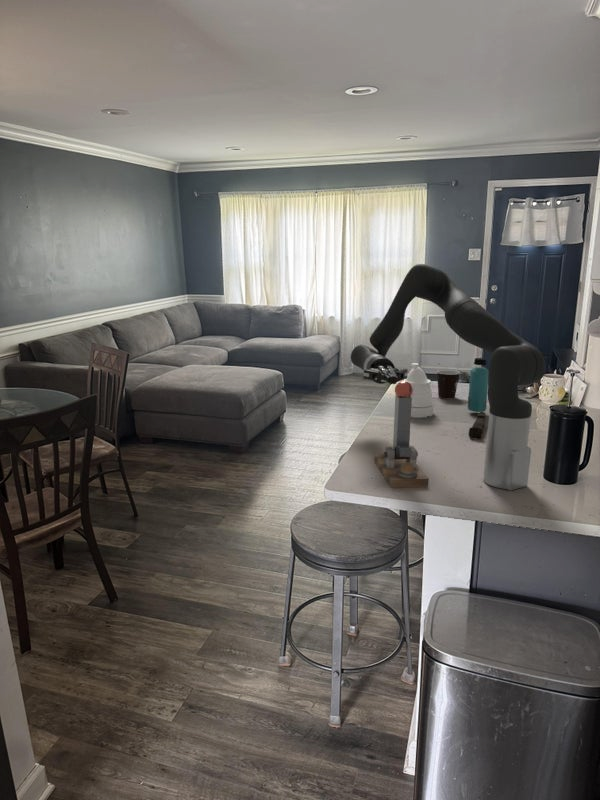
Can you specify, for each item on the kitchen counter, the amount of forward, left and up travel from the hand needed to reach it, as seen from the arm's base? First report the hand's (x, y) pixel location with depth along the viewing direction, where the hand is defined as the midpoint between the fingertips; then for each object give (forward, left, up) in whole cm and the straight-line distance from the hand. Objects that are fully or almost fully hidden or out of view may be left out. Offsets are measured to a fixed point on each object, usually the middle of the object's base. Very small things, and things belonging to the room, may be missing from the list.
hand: (393, 380), depth 141 cm
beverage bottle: (+22, -57, -22) cm, 65 cm away
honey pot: (+34, -39, -22) cm, 56 cm away
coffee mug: (+46, -65, -22) cm, 82 cm away
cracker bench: (-9, +4, -22) cm, 24 cm away
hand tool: (+7, -41, -22) cm, 48 cm away
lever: (-10, +5, -18) cm, 21 cm away
